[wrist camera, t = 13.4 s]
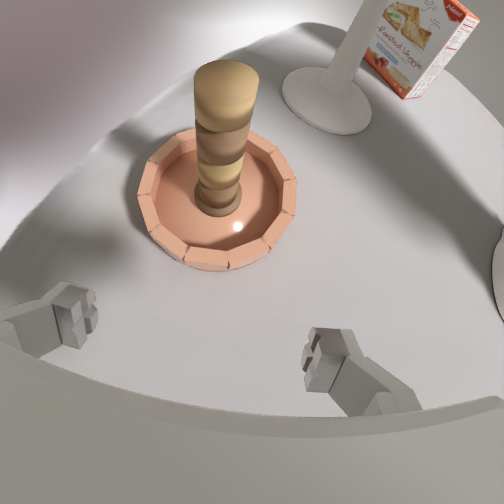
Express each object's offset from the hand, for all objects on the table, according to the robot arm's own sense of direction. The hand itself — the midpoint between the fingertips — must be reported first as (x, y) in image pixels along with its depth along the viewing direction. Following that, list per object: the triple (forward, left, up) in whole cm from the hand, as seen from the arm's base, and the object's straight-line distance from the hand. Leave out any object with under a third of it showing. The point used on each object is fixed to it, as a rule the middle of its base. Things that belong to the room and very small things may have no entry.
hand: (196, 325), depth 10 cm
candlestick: (-11, -30, -16) cm, 36 cm away
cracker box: (-23, -43, -16) cm, 51 cm away
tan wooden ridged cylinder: (+1, -12, -14) cm, 19 cm away
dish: (+1, -12, -15) cm, 19 cm away
